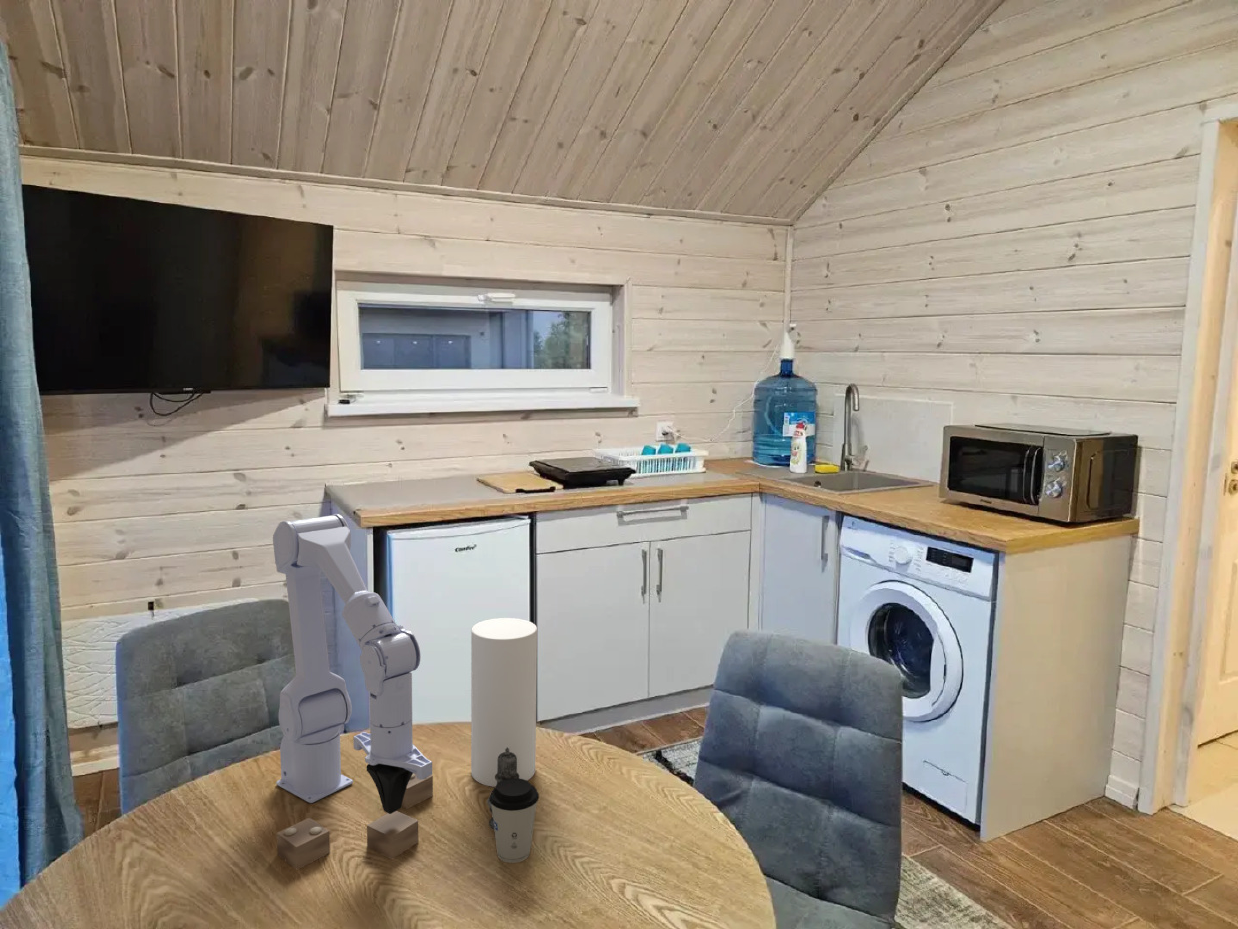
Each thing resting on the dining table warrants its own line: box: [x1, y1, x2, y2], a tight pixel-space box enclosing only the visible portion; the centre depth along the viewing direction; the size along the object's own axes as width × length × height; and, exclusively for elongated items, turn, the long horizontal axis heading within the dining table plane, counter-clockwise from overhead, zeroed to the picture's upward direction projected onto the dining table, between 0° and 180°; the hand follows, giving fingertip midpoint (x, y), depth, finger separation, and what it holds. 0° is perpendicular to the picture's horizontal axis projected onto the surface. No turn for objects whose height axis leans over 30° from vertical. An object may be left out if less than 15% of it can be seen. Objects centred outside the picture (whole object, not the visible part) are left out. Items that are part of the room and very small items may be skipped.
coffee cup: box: [488, 778, 540, 864], centre depth 118 cm, size 7×7×10 cm
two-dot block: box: [276, 817, 331, 870], centre depth 117 cm, size 5×5×4 cm
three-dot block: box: [401, 773, 434, 810], centre depth 132 cm, size 5×5×4 cm
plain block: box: [366, 810, 419, 860], centre depth 119 cm, size 5×5×4 cm
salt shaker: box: [486, 747, 519, 831], centre depth 125 cm, size 6×6×12 cm
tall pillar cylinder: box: [470, 617, 538, 788], centre depth 139 cm, size 11×11×25 cm
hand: (392, 809), depth 119 cm, fingers closed
